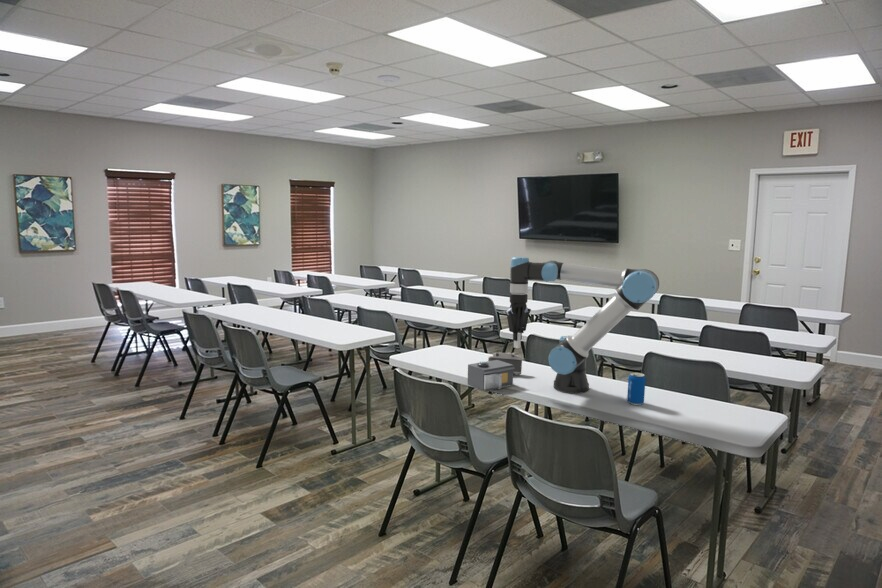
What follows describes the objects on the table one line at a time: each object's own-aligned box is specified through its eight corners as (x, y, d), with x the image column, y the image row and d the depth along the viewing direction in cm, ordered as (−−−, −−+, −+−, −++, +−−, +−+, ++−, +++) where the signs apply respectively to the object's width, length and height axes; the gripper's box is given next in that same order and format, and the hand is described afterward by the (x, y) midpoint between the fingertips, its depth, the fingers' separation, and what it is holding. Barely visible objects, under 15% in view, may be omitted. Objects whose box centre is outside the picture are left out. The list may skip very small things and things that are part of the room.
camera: (521, 374, 265) (522, 352, 268) (487, 371, 266) (489, 349, 269) (520, 377, 274) (521, 356, 277) (487, 374, 275) (488, 353, 278)
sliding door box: (514, 385, 251) (515, 361, 250) (484, 391, 241) (485, 366, 240) (496, 378, 261) (497, 356, 259) (467, 384, 251) (468, 360, 250)
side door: (501, 388, 243) (501, 374, 242) (488, 391, 239) (489, 376, 238) (496, 386, 246) (496, 372, 245) (483, 389, 242) (484, 374, 241)
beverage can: (623, 401, 230) (625, 372, 229) (636, 400, 233) (638, 371, 231) (634, 406, 224) (636, 377, 223) (647, 404, 227) (649, 375, 225)
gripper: (523, 291, 246) (522, 344, 249) (501, 293, 239) (499, 347, 242) (536, 293, 240) (534, 347, 243) (513, 295, 233) (511, 351, 236)
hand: (517, 347), depth 242 cm, fingers closed
